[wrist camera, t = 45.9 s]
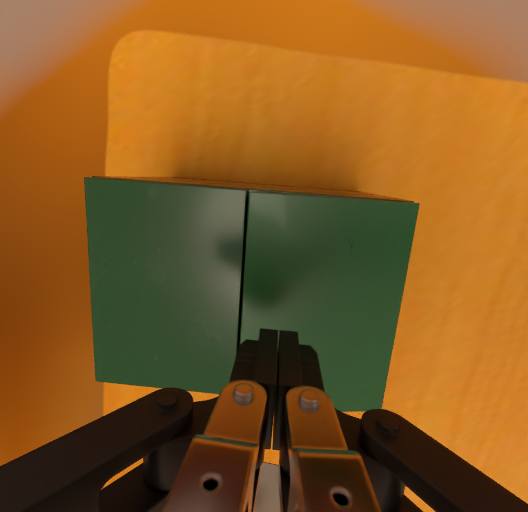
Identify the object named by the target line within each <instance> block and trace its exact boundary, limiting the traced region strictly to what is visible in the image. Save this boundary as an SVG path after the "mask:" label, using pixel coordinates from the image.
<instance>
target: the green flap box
mask: <svg viewBox="0 0 528 512" xmlns="http://www.w3.org/2000/svg"><path fill="white" fill-rule="evenodd" d="M84 184H85V200H86V201H85V202H86V219H87V235H88V236H87V237H88V255H89V272H90V288H91V289H90V290H91V306H92V307H91V308H92V323H93V343H94V358H95V359H94V361H95V377H96V381H99V382H107V383H117V384H127V385H136V386H146V387H156V388H180V389H183V390H186V391H194V392H204V393H214V394H220V392H221V390H222V388H223V387H224V386H225V385H226V384H228V383H229V381H230V377H231V373H232V369H233V366H234V362H235V358H236V355H237V350H238V347H239V345H240V332H241V315H242V299H243V283H244V267H245V251H246V234H247V218H248V202H249V192H250V191H253V192H267V193H282V194H296V195H310V196H324V197H339V198H353V199H367V200H382V201H396V202H410V203H414V201H409V200H403V199H398V198H392V197H386V196H381V195H375V194H370V193H364V192H358V191H345V190H332V189H319V188H306V187H293V186H280V185H267V184H254V183H241V182H228V181H215V180H202V179H189V178H176V177H104V176H102V177H101V176H100V177H99V176H93V177H92V178H89V177H85V178H84Z"/></svg>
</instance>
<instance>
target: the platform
mask: <svg viewBox="0 0 528 512" xmlns="http://www.w3.org/2000/svg"><path fill="white" fill-rule="evenodd" d="M278 469H279V466H278V465H274V464H269V463H264V462H263V463H262V465H261V471H260V478H259V484H258V490H257V497H256V503H255V509H254V512H280V497H279V482H278Z"/></svg>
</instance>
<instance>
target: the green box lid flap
mask: <svg viewBox="0 0 528 512" xmlns="http://www.w3.org/2000/svg"><path fill="white" fill-rule="evenodd" d="M418 210H419V203H410V202H396V201H382V200H367V199H353V198H339V197H324V196H310V195H296V194H282V193H267V192H253V191H250V192H249V202H248V218H247V234H246V251H245V267H244V283H243V299H242V315H241V332H240V344H241V343H242V342H243V341H245V340H246V339H248V340H259V333H260V328H263V329H274V330H278V341H279V331H280V330H286V331H296V332H298V338H299V344H302V345H311V346H312V348H313V349H314V350H315V351H316V352H317V354H318V359H319V364H320V369H321V375H322V380H323V385H324V390H325V393H326V394H327V395H328V396H329V397H330V398H331V400H332V402H333V405H334V408H336V409H337V410H339V411H340V412H346V411H368V410H371V409H381V408H382V403H383V398H384V392H385V387H386V381H387V376H388V371H389V365H390V360H391V355H392V349H393V344H394V338H395V333H396V328H397V322H398V317H399V312H400V306H401V301H402V296H403V290H404V285H405V279H406V274H407V269H408V263H409V258H410V253H411V247H412V242H413V236H414V231H415V226H416V220H417V215H418Z"/></svg>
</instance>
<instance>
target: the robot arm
mask: <svg viewBox="0 0 528 512" xmlns="http://www.w3.org/2000/svg"><path fill="white" fill-rule="evenodd" d="M273 416H274V425H273ZM272 427H273V450H280V459H279V469H278V482H279V497H280V512H423V511H422V510H421V509H420V508H419V507H417V506H416V505H415V504H414V503H413V502H412V501H411V500H410V499H408V498H407V497H406V496H405V495H404V489H405V485H406V486H407V487H408V488H409V489H410V490H412V491H413V492H414V493H415V494H416V495H417V496H418V497H420V498H421V499H422V500H423V501H424V502H425V503H426V504H428V505H429V506H430V507H431V508H432V509H433V510H435V511H436V512H528V504H527V503H526V502H524V501H523V500H521V499H520V498H518V497H517V496H515V495H514V494H513V493H511V492H510V491H508V490H507V489H505V488H504V487H502V486H501V485H500V484H498V483H497V482H495V481H494V480H492V479H491V478H489V477H488V476H487V475H485V474H484V473H482V472H481V471H479V470H478V469H476V468H475V467H474V466H472V465H471V464H469V463H468V462H466V461H465V460H463V459H462V458H461V457H459V456H458V455H456V454H455V453H453V452H452V451H450V450H449V449H448V448H446V447H445V446H443V445H442V444H440V443H439V442H437V441H436V440H435V439H433V438H432V437H430V436H429V435H427V434H426V433H424V432H423V431H422V430H420V429H419V428H417V427H416V426H414V425H413V424H411V423H410V422H409V421H407V420H406V419H404V418H403V417H401V416H400V415H398V414H396V413H394V412H391V411H388V410H384V409H371V410H368V411H366V412H365V413H364V414H363V415H362V419H359V418H356V417H353V416H350V415H347V414H344V413H342V412H340V411H339V410H337V409H336V408H334V405H333V402H332V400H331V398H330V397H329V396H328V395H327V394H326V393H325V390H324V385H323V380H322V375H321V369H320V364H319V359H318V354H317V352H316V351H315V350H314V349H313V348H312V346H311V345H302V344H299V338H298V332H296V331H286V330H280V331H279V341H278V330H274V329H263V328H260V333H259V340H248V339H246V340H245V341H243V342H242V343H241V344H240V345H239V347H238V350H237V355H236V358H235V362H234V366H233V369H232V373H231V377H230V381H229V383H228V384H226V385H225V386H224V387H223V388H222V390H221V392H220V394H219V396H218V397H216V398H213V399H210V400H205V401H198V402H193V398H192V396H191V394H190V393H189V392H187V391H186V390H183V389H180V388H163V389H160V390H157V391H155V392H152V393H150V394H148V395H146V396H144V397H142V398H140V399H138V400H136V401H134V402H132V403H130V404H128V405H126V406H124V407H122V408H120V409H117V410H115V411H113V412H111V413H109V414H107V415H105V416H103V417H101V418H99V419H97V420H95V421H93V422H91V423H89V424H87V425H85V426H82V427H80V428H78V429H76V430H74V431H72V432H70V433H68V434H66V435H64V436H62V437H60V438H58V439H56V440H54V441H52V442H49V443H47V444H45V445H43V446H41V447H39V448H37V449H35V450H33V451H31V452H29V453H27V454H25V455H23V456H21V457H19V458H17V459H14V460H12V461H10V462H8V463H6V464H4V465H2V466H0V512H254V509H255V503H256V497H257V490H258V484H259V478H260V471H261V465H262V463H263V460H264V451H265V449H270V448H271V437H272ZM142 458H143V463H142V464H140V465H139V466H137V467H136V468H134V469H133V470H131V471H130V472H128V473H127V474H125V475H123V476H122V477H120V478H119V479H117V480H116V481H114V482H113V483H111V484H110V485H108V486H106V487H105V488H103V489H102V487H103V486H104V485H105V483H106V482H107V481H108V480H109V479H111V478H112V477H113V476H115V475H116V474H118V473H119V472H121V471H123V470H124V469H126V468H127V467H129V466H130V465H132V464H134V463H135V462H137V461H138V460H140V459H142ZM101 489H102V490H101Z"/></svg>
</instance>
